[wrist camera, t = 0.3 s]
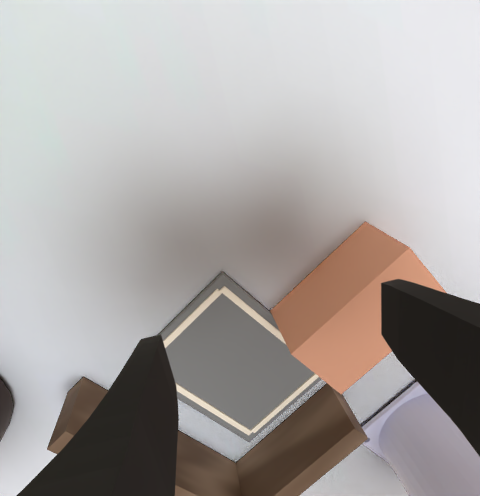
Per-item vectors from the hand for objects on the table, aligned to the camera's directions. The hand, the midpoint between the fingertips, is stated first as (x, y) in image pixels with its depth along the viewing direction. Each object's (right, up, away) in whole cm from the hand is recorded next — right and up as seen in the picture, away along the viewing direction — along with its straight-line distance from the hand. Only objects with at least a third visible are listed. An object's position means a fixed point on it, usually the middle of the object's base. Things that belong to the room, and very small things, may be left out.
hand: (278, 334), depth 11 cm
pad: (-1, -5, +12) cm, 13 cm away
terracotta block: (+5, 0, +12) cm, 13 cm away
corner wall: (-3, -7, +13) cm, 15 cm away
